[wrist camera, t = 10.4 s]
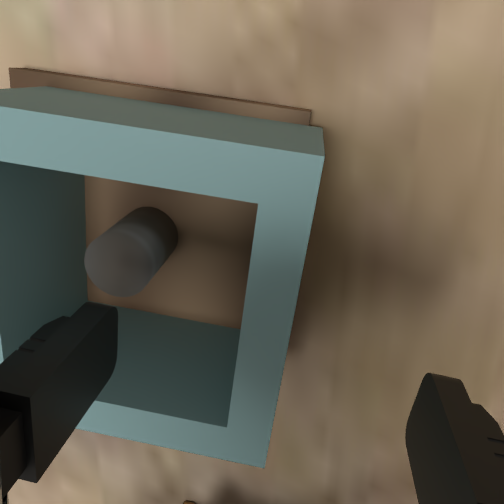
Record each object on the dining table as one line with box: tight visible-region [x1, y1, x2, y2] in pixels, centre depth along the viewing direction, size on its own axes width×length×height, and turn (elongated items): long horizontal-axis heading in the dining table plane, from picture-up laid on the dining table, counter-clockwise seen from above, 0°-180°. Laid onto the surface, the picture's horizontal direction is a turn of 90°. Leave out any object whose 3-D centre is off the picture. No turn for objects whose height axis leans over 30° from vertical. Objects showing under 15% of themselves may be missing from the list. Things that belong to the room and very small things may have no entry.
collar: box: [0, 86, 325, 468], centre depth 16 cm, size 11×11×6 cm
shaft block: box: [9, 68, 311, 329], centre depth 18 cm, size 12×12×4 cm
